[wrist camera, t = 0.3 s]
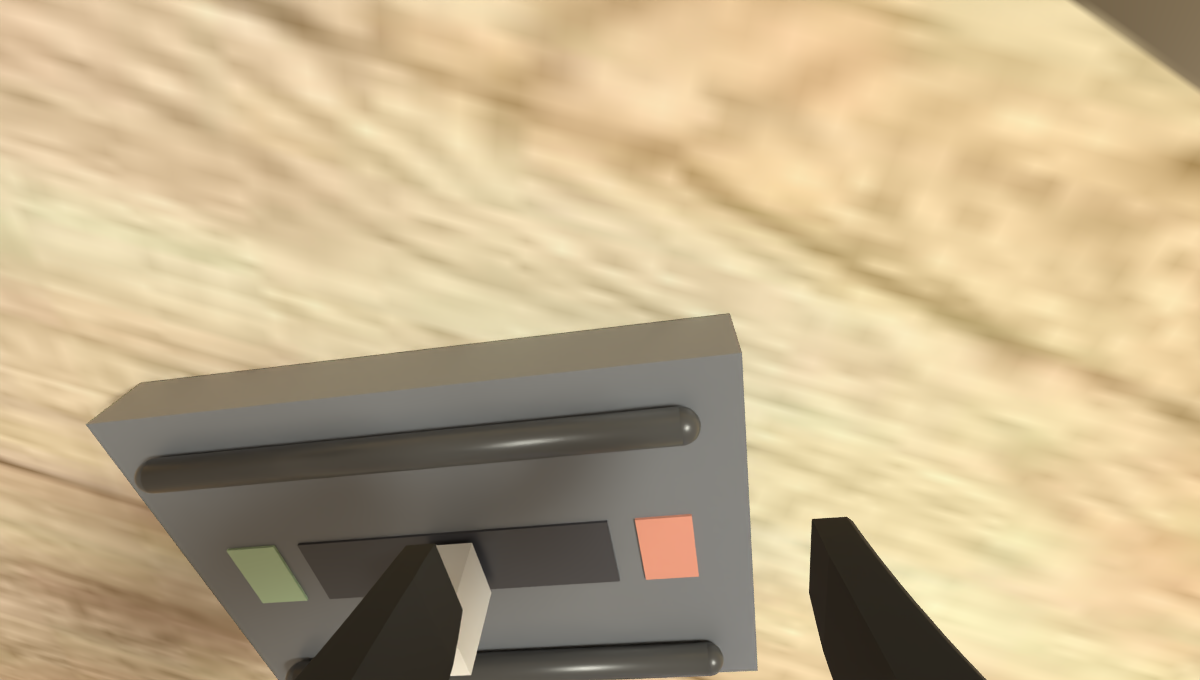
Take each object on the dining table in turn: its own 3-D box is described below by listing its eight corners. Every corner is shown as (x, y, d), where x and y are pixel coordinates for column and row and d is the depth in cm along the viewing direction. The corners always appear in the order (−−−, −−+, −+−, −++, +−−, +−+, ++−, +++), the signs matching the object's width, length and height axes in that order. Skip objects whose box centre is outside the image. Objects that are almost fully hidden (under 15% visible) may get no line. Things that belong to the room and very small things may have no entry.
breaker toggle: (491, 592, 22) (471, 675, 20) (442, 595, 23) (415, 677, 20) (472, 542, 21) (447, 624, 18) (420, 546, 21) (387, 627, 18)
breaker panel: (747, 617, 27) (762, 699, 24) (311, 639, 30) (271, 716, 26) (729, 313, 19) (748, 375, 16) (140, 383, 22) (55, 447, 19)
